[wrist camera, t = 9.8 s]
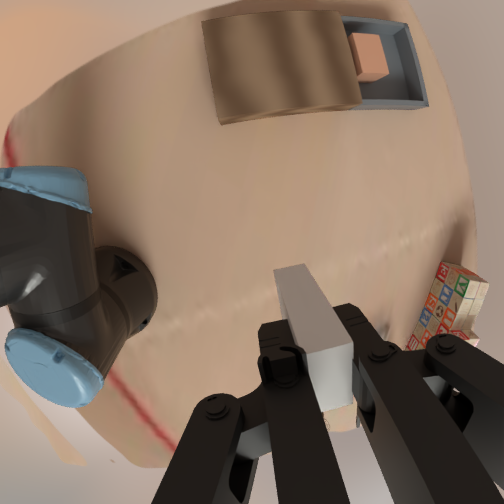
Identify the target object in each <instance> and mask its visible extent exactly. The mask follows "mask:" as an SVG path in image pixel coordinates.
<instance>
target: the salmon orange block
mask: <svg viewBox="0 0 504 504" xmlns="http://www.w3.org/2000/svg"><path fill="white" fill-rule="evenodd" d="M347 39H348V43H349V46H350V50H351V54H352V58H353V62H354V66H355V70H356V74H357V78H358V83H373V82H375V81H376V80H378V79H380V78H382V77H384V76H386V75H388V74H389V70H388V66H387V62H386V58H385V55H384V51H383V47H382V44H381V40H380V37H379V35H375V34H364V33H352V34H351V35H350V36H349V37H348V38H347Z"/></svg>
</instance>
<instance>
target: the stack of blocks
mask: <svg viewBox="0 0 504 504" xmlns="http://www.w3.org/2000/svg"><path fill="white" fill-rule="evenodd" d="M489 285H490V283H488V282H487V281H485V280H483V279H482V278H480V277H479V276H478V275H476V274H475V273H473V272H471V271H469V270H468V269H466V268H464V267H462V266H460V265H455V264H451V263H447V262H441V263H440V266H439V269H438V272H437V275H436V278H435V280H434V282H433V285H432V288H431V291H430V293H429V296H428V298H427V301H426V303H425V307H424V309H423V312H422V314H421V316H420V319H419V321H418V324H417V326H416V328H415V330H414V333H413V334H412V337H411V339H410V341H409V343H408V345H407V347H406V349H405V351H411V350H420V349H425V348H426V344H427V341H428V340H429V339H430V338H431V337H432V336H435V335H437V334H443V333H447V334H453V335H455V336H458V337H460V338H461V339H463V340H465V341H466V342H468V343H469V344H471V345H473V346H474V347H476V346H477V344H478V341H479V339H480V338H479V337H478V336H477V335H476V334H475V333H474V332H473V331H472V330H471V328H472V326H473V324H474V322H475V319H476V317H477V315H478V312H479V310H480V308H481V306H482V303H483V301H484V298H485V295H486V292H487V290H488V287H489Z"/></svg>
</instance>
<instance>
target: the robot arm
mask: <svg viewBox="0 0 504 504" xmlns="http://www.w3.org/2000/svg"><path fill="white" fill-rule="evenodd" d="M91 214H92V209H91V207H90V203H89V193H88V183H87V179H86V177H85V175H84V174H83V173H82V172H81V171H79V170H77V169H75V168H70V167H59V166H19V167H14V168H12V167H9V168H0V307H3V306H5V305H8V307H9V310H10V314H11V317H12V320H13V323H14V327H15V328H14V329H12V330H11V331H10V332H9V333H8V336H7V338H6V343H5V352H6V355H7V359H8V361H9V363H10V364H11V366H12V368H13V369H14V371H15V372H16V374H17V375H18V376H19V377H20V378H21V379H22V381H23V382H24V383H25V384H26V385H27V386H29V387H30V388H31V389H32V390H34V391H35V392H36V393H37V394H39V395H40V396H42V397H44V398H45V399H47V400H49V401H51V402H53V403H55V404H58V405H61V406H65V407H72V408H77V407H83V406H86V405H87V404H88V403H90V402H91V401H92V400H93V399H94V397H95V395H96V394H97V393H98V391H99V390H100V389H101V388H102V387H103V385H104V380H105V378H106V376H107V374H108V372H109V371H110V369H111V367H112V365H113V363H114V361H115V359H116V358H117V356H118V354H119V352H120V350H121V349H122V347H123V345H124V343H125V341H126V340H127V339H129V338H130V337H132V336H134V335H135V334H137V333H139V332H140V331H142V330H143V329H144V328H145V327H146V326H147V325H148V323H149V322H150V320H151V318H152V316H153V314H154V312H155V310H156V307H157V298H158V297H157V289H156V285H155V282H154V279H153V277H152V275H151V273H150V271H149V270H148V269H147V267H146V266H145V265H144V264H143V262H142V261H141V260H139V259H138V258H137V257H136V256H135V255H133V254H132V253H130V252H128V251H126V250H124V249H121V248H118V247H113V246H103V247H99V248H96V249H95V247H94V239H93V229H92V218H91ZM274 276H275V281H276V286H277V292H278V297H279V303H280V308H281V314H282V319H283V320H279V321H274V322H269V323H265V324H262V325H261V327H260V329H259V331H258V339H259V346H260V354H261V355H260V356H259V357H258V363H257V364H258V368H259V372H260V376H261V380H262V382H261V384H260V385H259V387H258V388H257V389H255V390H254V391H253V392H251V393H249V394H248V395H245V396H243V397H241V398H238V399H237V398H236V397H234V396H232V395H230V394H224V393H220V394H213V395H210V396H208V397H205V398H204V399H203V400H201V401H200V402H199V403H198V404H197V405H196V407H195V408H194V410H193V413H192V415H191V417H190V419H189V422H188V424H187V426H186V428H185V431H184V433H183V435H182V437H181V439H180V442H179V444H178V446H177V448H176V450H175V453H174V455H173V457H172V459H171V461H170V464H169V466H168V468H167V471H166V472H165V475H164V477H163V479H162V481H161V483H160V486H159V488H158V490H157V492H156V494H155V497H154V499H153V501H152V503H151V504H248V503H249V499H250V494H251V491H252V486H253V482H254V477H255V473H256V469H257V464H258V460H259V457H260V456H262V455H265V454H267V453H269V452H271V451H272V458H273V465H274V473H275V480H276V487H277V495H278V501H279V504H350V501H349V498H348V495H347V492H346V488H345V485H344V482H343V479H342V475H341V472H340V469H339V466H338V463H337V459H336V456H335V453H334V450H333V447H332V444H331V441H330V437H329V434H328V431H327V428H326V425H325V422H324V419H323V416H322V413H321V412H324V411H328V410H332V409H336V408H339V407H343V406H346V405H349V404H353V394H354V397H355V399H356V401H357V417H356V426H357V428H358V427H360V421H361V424H362V426H363V428H364V431H365V433H366V435H367V438H368V440H369V442H370V445H371V447H372V449H373V452H374V454H375V457H376V459H377V461H378V464H379V466H380V469H381V471H382V474H383V476H384V479H385V481H386V483H387V486H388V488H389V491H390V493H391V496H392V499H393V501H394V504H504V499H503V498H502V496H501V494H500V492H499V490H498V489H497V487H496V485H495V484H494V482H495V483H496V484H497V485H499V486H500V487H501V488H502V489H503V490H504V364H502V363H500V362H499V361H497V360H496V359H494V358H492V357H491V356H489V355H487V354H486V353H484V352H482V351H481V350H479V349H478V348H476V347H474V346H473V345H471V344H469V343H468V342H466V341H465V340H463V339H461V338H460V337H458V336H455V335H453V334H447V333H443V334H437V335H435V336H432V337H431V338H430V339H429V340H428V341H427V344H426V348H425V349H420V350H411V351H402V350H401V349H400V347H398V346H397V345H396V344H394V343H392V342H389V341H383V339H382V338H381V337H380V335H379V334H378V333H377V331H376V330H375V329H374V327H373V326H372V325H371V323H370V322H368V319H367V318H366V317H365V316H364V314H363V313H362V312H361V310H360V309H359V308H358V307H356V306H354V305H352V304H350V303H347V304H343V305H339V306H335V307H332V306H331V305H330V303H329V302H328V300H327V298H326V297H325V295H324V294H323V292H322V290H321V289H320V287H319V286H318V284H317V283H316V281H315V279H314V278H313V276H312V275H311V273H310V272H309V270H308V268H307V267H306V265H305V264H300V265H295V266H290V267H285V268H281V269H276V270H274ZM454 388H456V389H457V390H458V391H459V392H456V391H454V390H453V389H454ZM493 481H494V482H493Z"/></svg>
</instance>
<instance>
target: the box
mask: <svg viewBox="0 0 504 504" xmlns="http://www.w3.org/2000/svg"><path fill="white" fill-rule="evenodd" d="M341 19H342V22H343V25H344V29H345V32H346V35H347V38H348V37H349V36H350V35H351V34H352V33H364V34H375V35H379V37H380V40H381V44H382V47H383V51H384V55H385V58H386V62H387V66H388V70H389V74H388V75H386V76H384V77H382V78H380V79H378V80H376V81H375V82H373V83H359V87H360V92H361V97H362V102H363V104H360V105H358V106H356V107H353V108H351V109H349V110H373V109H397V110H415V109H420V108H425V107H429V104H428V99H427V94H426V89H425V84H424V80H423V76H422V72H421V68H420V64H419V60H418V56H417V53H416V49H415V46H414V43H413V40H412V36H411V33H410V30H409V27H408V24H406V23H401V22H394V21H388V20H381V19H372V18H363V17H351V16H341Z"/></svg>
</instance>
